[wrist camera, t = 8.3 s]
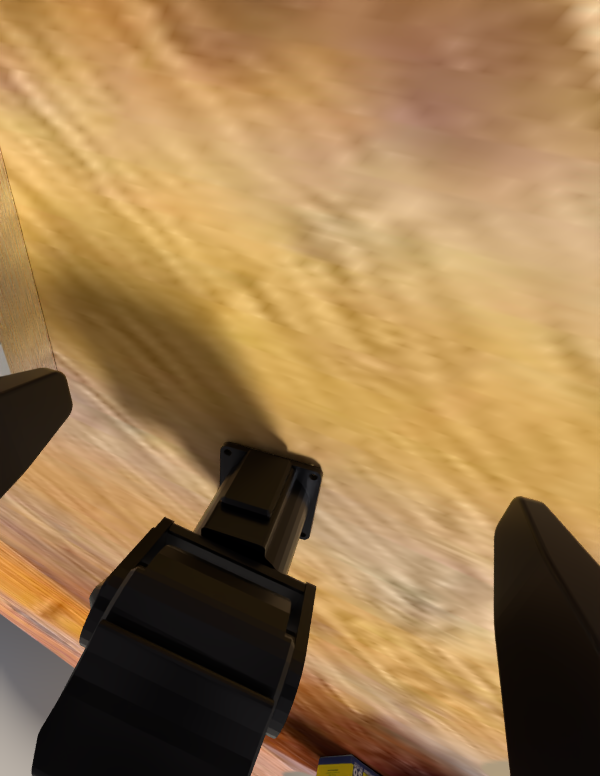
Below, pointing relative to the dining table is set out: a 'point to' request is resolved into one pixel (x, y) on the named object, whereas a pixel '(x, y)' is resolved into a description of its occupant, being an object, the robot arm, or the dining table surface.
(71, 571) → the dining table surface
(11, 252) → the rail
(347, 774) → the supplement box
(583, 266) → the dining table surface
